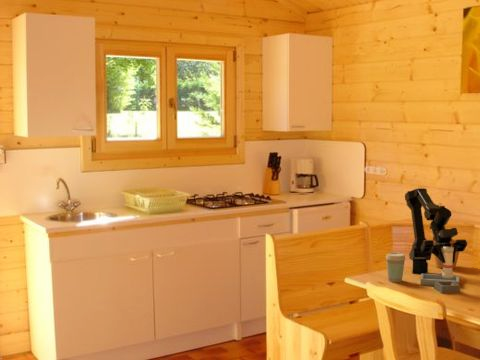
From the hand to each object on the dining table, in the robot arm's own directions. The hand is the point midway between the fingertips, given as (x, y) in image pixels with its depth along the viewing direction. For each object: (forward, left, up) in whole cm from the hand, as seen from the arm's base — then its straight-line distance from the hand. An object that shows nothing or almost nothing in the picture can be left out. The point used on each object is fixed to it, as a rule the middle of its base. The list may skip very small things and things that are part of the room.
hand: (449, 262), depth 279 cm
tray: (-4, +13, -12) cm, 18 cm away
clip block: (-1, +1, -12) cm, 12 cm away
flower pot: (-1, +46, -12) cm, 48 cm away
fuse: (-1, +1, -7) cm, 7 cm away
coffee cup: (-23, +12, -12) cm, 29 cm away
